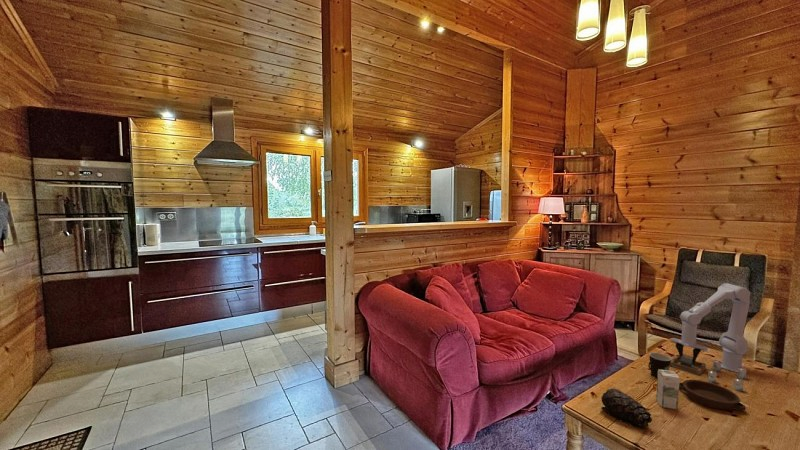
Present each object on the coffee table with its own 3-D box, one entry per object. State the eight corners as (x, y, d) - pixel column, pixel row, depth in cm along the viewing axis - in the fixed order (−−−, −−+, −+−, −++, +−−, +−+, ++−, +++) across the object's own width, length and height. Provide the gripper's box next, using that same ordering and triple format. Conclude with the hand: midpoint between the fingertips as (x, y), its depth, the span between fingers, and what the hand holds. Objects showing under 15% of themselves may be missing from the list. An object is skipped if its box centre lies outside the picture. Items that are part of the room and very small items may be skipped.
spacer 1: (708, 379, 161) (709, 369, 161) (716, 381, 159) (717, 371, 158) (706, 381, 159) (707, 371, 159) (715, 384, 157) (715, 373, 157)
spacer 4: (734, 387, 154) (735, 377, 153) (743, 390, 151) (744, 380, 151) (732, 389, 152) (733, 379, 152) (742, 392, 150) (742, 382, 149)
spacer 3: (737, 376, 164) (738, 366, 163) (746, 378, 161) (747, 368, 161) (736, 378, 162) (737, 368, 162) (745, 380, 160) (746, 370, 159)
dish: (740, 422, 130) (741, 410, 130) (671, 396, 148) (671, 385, 148) (749, 406, 140) (750, 394, 140) (683, 383, 158) (683, 373, 158)
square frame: (676, 359, 181) (676, 355, 181) (705, 368, 171) (705, 364, 171) (669, 366, 174) (669, 361, 174) (699, 375, 164) (699, 371, 164)
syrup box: (671, 402, 143) (673, 370, 142) (678, 410, 137) (679, 377, 136) (656, 400, 145) (657, 368, 144) (661, 408, 139) (663, 375, 138)
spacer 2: (713, 368, 171) (713, 359, 171) (721, 371, 169) (721, 361, 168) (712, 370, 169) (712, 361, 169) (720, 372, 167) (720, 363, 166)
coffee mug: (662, 371, 168) (663, 353, 168) (674, 381, 160) (675, 361, 159) (638, 370, 170) (638, 352, 169) (649, 379, 161) (649, 360, 160)
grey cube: (682, 363, 175) (683, 354, 175) (693, 366, 172) (694, 357, 171) (680, 365, 173) (680, 356, 172) (691, 369, 169) (691, 359, 169)
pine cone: (648, 435, 123) (650, 410, 122) (597, 412, 137) (598, 388, 136) (657, 423, 130) (658, 399, 129) (607, 402, 144) (608, 380, 143)
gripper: (669, 332, 175) (667, 356, 176) (705, 341, 163) (704, 367, 164) (673, 329, 179) (672, 353, 180) (709, 337, 167) (707, 363, 168)
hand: (687, 359), depth 172 cm, fingers closed on grey cube, 4 cm apart
